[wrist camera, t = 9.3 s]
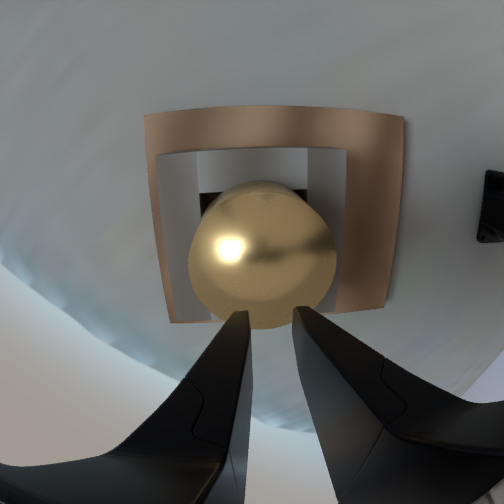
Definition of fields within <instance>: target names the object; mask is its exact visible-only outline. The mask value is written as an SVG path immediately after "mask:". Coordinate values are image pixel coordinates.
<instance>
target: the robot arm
mask: <svg viewBox="0 0 504 504" xmlns="http://www.w3.org/2000/svg"><path fill="white" fill-rule="evenodd" d="M477 241H478V242H480V243H494V242H504V173H503V172H498V171H493V170H487V171H486V174H485V185H484V194H483V202H482V209H481V216H480V222H479V228H478V233H477ZM292 336H293V342H294V348H295V354H296V360H297V366H298V371H299V376H300V380H301V384H302V387H303V391H304V394H305V397H306V400H307V403H308V407H309V410H310V413H311V416H312V419H313V423H314V426H315V429H316V432H317V435H318V439H319V442H320V445H321V448H322V451H323V455H324V458H325V461H326V465H327V468H328V471H329V474H330V478H331V481H332V484H333V487H334V490H335V494H336V497H337V501H338V504H504V401H498V402H491V403H473V402H469V401H466V400H463V399H461V398H459V397H457V396H455V395H453V394H451V393H449V392H447V391H445V390H443V389H441V388H439V387H437V386H435V385H433V384H431V383H429V382H427V381H425V380H423V379H421V378H419V377H417V376H415V375H414V374H412V373H410V372H408V371H407V370H405V369H403V368H402V367H400V366H398V365H397V364H395V363H394V362H392V361H391V360H389V359H388V358H385V357H384V356H383V355H381V354H380V353H378V352H377V351H375V350H374V349H372V348H371V347H369V346H368V345H366V344H365V343H363V342H362V341H360V340H358V339H357V338H355V337H354V336H352V335H351V334H349V333H348V332H346V331H345V330H343V329H342V328H340V327H339V326H337V325H336V324H334V323H333V322H331V321H330V320H328V319H327V318H325V317H324V316H322V315H321V314H319V313H318V312H316V311H315V310H313V309H312V308H310V307H309V306H296V307H294V309H293V321H292ZM252 391H253V372H252V349H251V328H250V319H249V311H248V310H235V311H234V312H233V313H232V314H231V316H230V317H229V318H228V320H227V321H226V322H225V324H224V325H223V326H222V328H221V329H220V330H219V332H218V333H217V334H216V336H215V337H214V338H213V340H212V341H211V343H210V344H209V345H208V347H207V348H206V349H205V351H204V352H203V353H202V354H201V356H200V357H199V358H198V360H197V361H196V362H195V364H194V365H193V366H192V368H191V369H190V370H189V372H188V373H187V374H186V376H185V378H183V379H182V381H181V382H180V383H179V385H178V386H177V387H176V388H175V390H174V391H173V392H172V393H171V395H170V396H169V397H168V398H167V399H166V400H165V401H164V402H163V403H162V404H161V405H160V406H159V408H158V409H157V410H156V411H155V412H154V413H153V414H152V415H150V417H148V418H147V419H146V420H145V421H144V422H143V423H142V424H141V425H140V426H139V427H138V428H137V429H136V430H135V431H134V432H133V433H132V434H130V436H128V437H127V438H126V439H125V440H124V441H123V442H122V443H121V444H119V445H118V446H117V447H115V448H114V449H113V450H111V451H109V452H107V453H105V454H103V455H100V456H96V457H91V458H86V459H80V460H75V461H68V462H62V463H55V464H47V465H40V466H25V467H20V466H10V465H6V464H2V463H0V504H244V499H245V487H246V486H245V485H246V473H247V461H248V448H249V434H250V433H249V432H250V420H251V406H252Z"/></svg>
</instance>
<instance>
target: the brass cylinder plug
mask: <svg viewBox="0 0 504 504" xmlns="http://www.w3.org/2000/svg"><path fill="white" fill-rule="evenodd" d="M336 260H337V256H336V247H335V243H334V239H333V237H332V234H331V232H330V230H329V228H328V226H327V225H326V223H325V222H324V221H323V219H322V218H321V217H320V216H319V215H318V214H317V213H316V212H315V211H314V210H313V209H312V208H311V207H310V206H309V205H308V204H307V203H306V202H305V201H304V200H303V199H302V198H301V197H300V196H299V195H298V194H296V193H295V192H293V191H292V190H291V189H289V188H287V187H285V186H282V185H279V184H276V183H272V182H267V181H252V182H246V183H241V184H238V185H236V186H233V187H231V188H229V189H227V190H225V191H224V192H223V193H221V194H220V195H218V196H217V197H216V198H215V199H214V200H213V201H212V202H211V203H210V205H209V206H208V207H207V209H206V210H205V212H204V214H203V216H202V218H201V220H200V223H199V225H198V228H197V230H196V233H195V236H194V238H193V241H192V244H191V247H190V251H189V258H188V271H189V276H190V281H191V284H192V287H193V289H194V291H195V293H196V295H197V297H198V298H199V299H200V301H201V302H202V304H203V305H204V306H205V307H206V308H207V309H208V310H209V311H210V312H212V313H213V314H214V315H215V316H217V317H218V318H220V319H222V320H224V321H227V320H228V318H229V317H230V316H231V314H232V313H233V312H234V311H235V310H248V311H249V319H250V328H251V329H270V328H276V327H280V326H284V325H287V324H289V323H292V321H293V309H294V307H296V306H309V307H310V308H312V309H314V308H315V307H316V306H317V305H318V304H319V302H320V301H321V300H322V299H323V298H324V296H325V295H326V293H327V291H328V290H329V288H330V286H331V283H332V281H333V278H334V275H335V270H336Z"/></svg>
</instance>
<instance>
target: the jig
mask: <svg viewBox="0 0 504 504" xmlns="http://www.w3.org/2000/svg"><path fill="white" fill-rule="evenodd" d="M144 123H145V141H146V156H147V169H148V180H149V190H150V199H151V208H152V216H153V224H154V232H155V239H156V246H157V252H158V259H159V265H160V271H161V277H162V283H163V288H164V293H165V299H166V304H167V309H168V314H169V319H170V323H206V322H226V321H224V320H222V319H220V318H218V317H217V316H215V315H214V314H213V313H212V312H210V311H209V310H208V309H207V308H206V307H205V306H204V305H203V304H202V302H201V301H200V299H199V298H198V297H197V295H196V293H195V291H194V289H193V287H192V284H191V281H190V276H189V271H188V258H189V251H190V247H191V244H192V241H193V238H194V236H195V233H196V230H197V228H198V225H199V223H200V220H201V218H202V216H203V214H204V212H205V210H206V209H207V207H208V206H209V205H210V203H211V202H212V201H213V200H214V199H215V198H216V197H217V196H218V195H220V194H221V193H223V192H224V191H225V190H227V189H229V188H231V187H233V186H236V185H238V184H241V183H246V182H252V181H267V182H272V183H276V184H279V185H282V186H285V187H287V188H289V189H291V190H292V191H293V192H295V193H296V194H298V195H299V196H300V197H301V198H302V199H303V200H304V201H305V202H306V203H307V204H308V205H309V206H310V207H311V208H312V209H313V210H314V211H315V212H316V213H317V214H318V215H319V216H320V217H321V218H322V219H323V221H324V222H325V223H326V225H327V226H328V228H329V230H330V232H331V234H332V237H333V239H334V243H335V247H336V256H337V260H336V270H335V275H334V278H333V281H332V283H331V286H330V288H329V290H328V291H327V293H326V295H325V296H324V298H323V299H322V300H321V301H320V302H319V304H318V305H317V306H316V307H315V308H314V309H313V310H315V311H316V312H318V313H319V314H321V315H327V314H336V313H345V312H354V311H362V310H370V309H378V308H384V305H385V300H386V295H387V290H388V285H389V280H390V274H391V269H392V263H393V256H394V250H395V243H396V236H397V228H398V219H399V210H400V199H401V187H402V171H403V144H404V117H402V116H396V115H389V114H382V113H375V112H367V111H358V110H348V109H337V108H323V107H304V106H235V107H216V108H202V109H191V110H181V111H172V112H164V113H156V114H149V115H144Z"/></svg>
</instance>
